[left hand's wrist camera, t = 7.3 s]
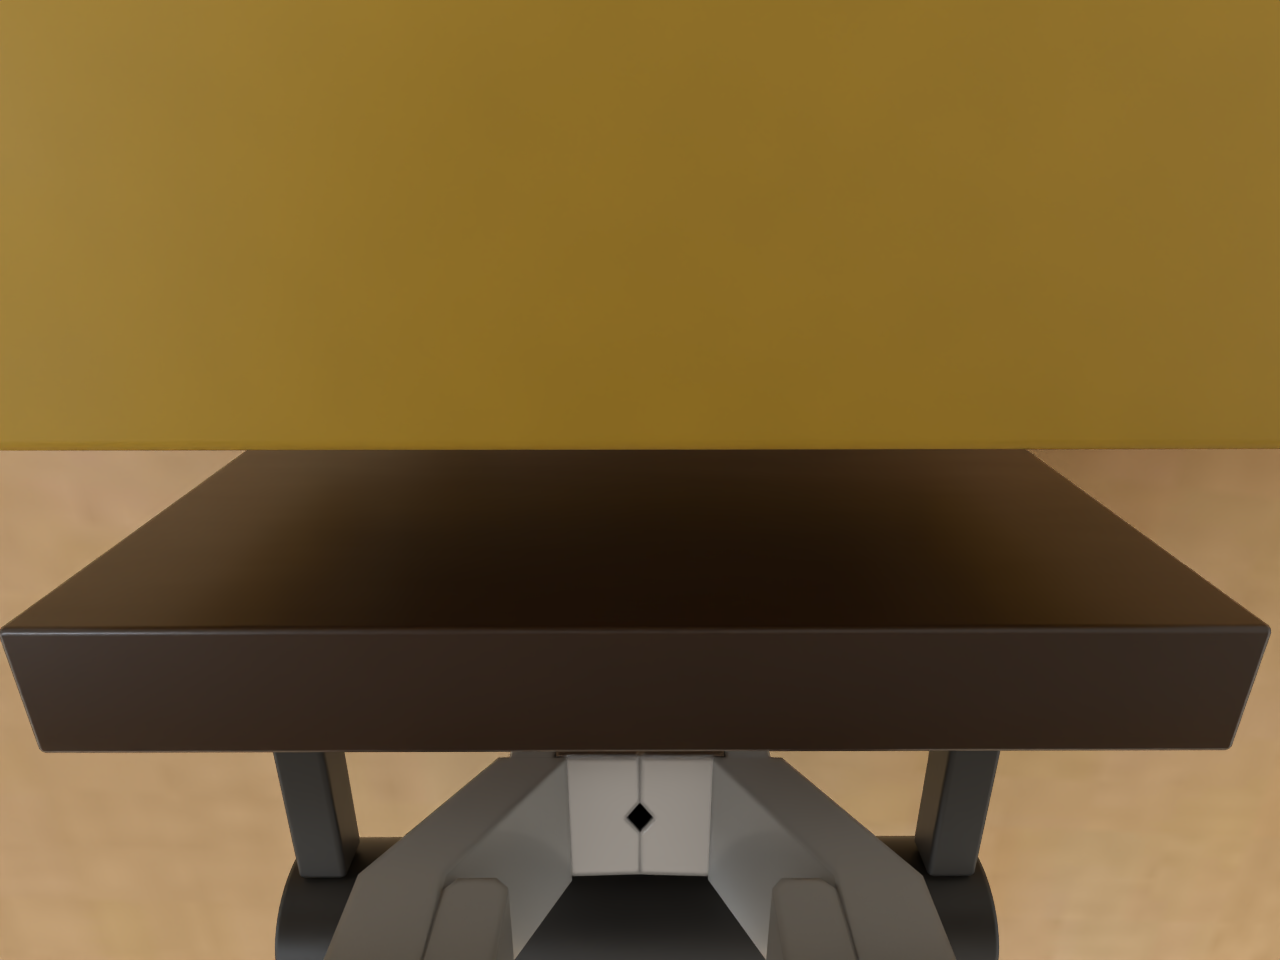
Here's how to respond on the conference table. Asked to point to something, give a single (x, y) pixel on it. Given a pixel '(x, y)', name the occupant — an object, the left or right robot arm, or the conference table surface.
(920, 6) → the cabinet
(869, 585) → the drawer
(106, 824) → the conference table surface
